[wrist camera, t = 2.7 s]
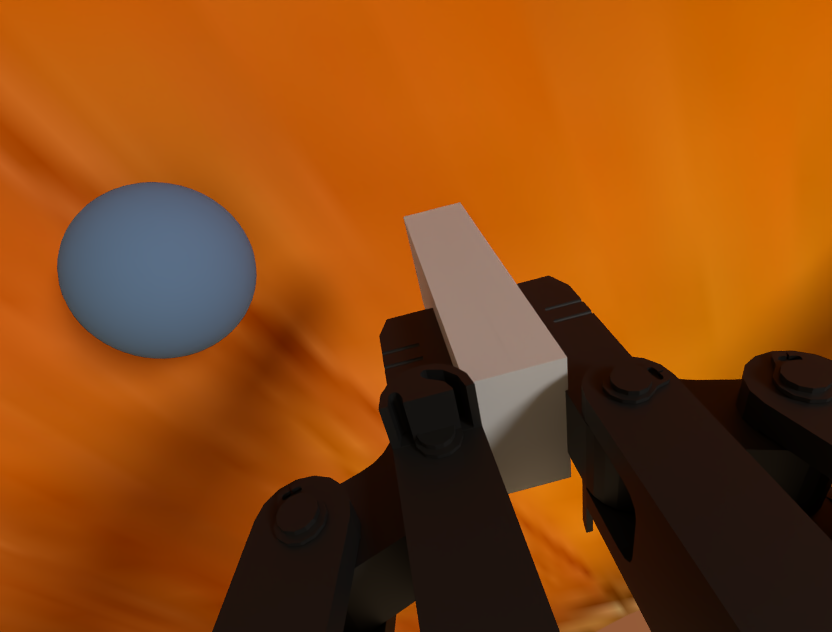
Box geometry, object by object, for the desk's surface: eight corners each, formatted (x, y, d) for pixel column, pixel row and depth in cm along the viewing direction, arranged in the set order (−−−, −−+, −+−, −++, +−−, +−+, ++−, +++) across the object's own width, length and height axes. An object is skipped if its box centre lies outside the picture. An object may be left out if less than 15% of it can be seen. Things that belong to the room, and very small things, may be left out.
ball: (229, 144, 17) (186, 196, 12) (287, 283, 21) (270, 369, 16) (70, 184, 17) (-39, 252, 12) (152, 317, 21) (93, 413, 16)
